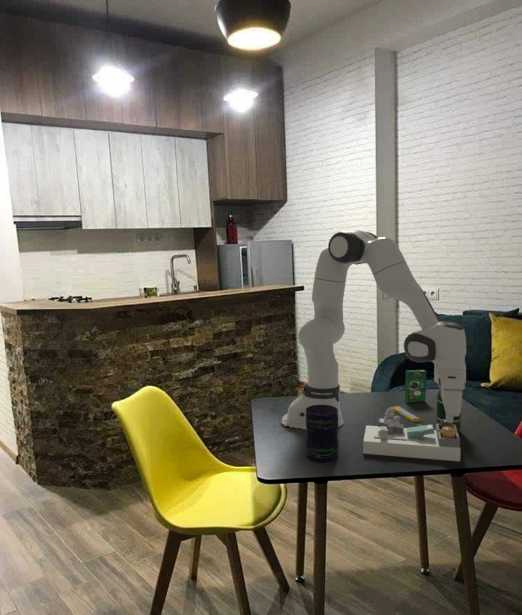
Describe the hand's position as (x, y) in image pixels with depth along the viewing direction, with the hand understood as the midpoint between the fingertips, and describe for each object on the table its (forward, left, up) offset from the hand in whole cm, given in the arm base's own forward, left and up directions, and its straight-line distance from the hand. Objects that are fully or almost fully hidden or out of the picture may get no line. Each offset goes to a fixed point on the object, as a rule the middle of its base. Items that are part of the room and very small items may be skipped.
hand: (449, 421), depth 150 cm
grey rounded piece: (-17, +22, -11) cm, 30 cm away
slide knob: (-19, 0, -6) cm, 20 cm away
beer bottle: (+2, +22, -11) cm, 24 cm away
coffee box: (-8, +54, -11) cm, 55 cm away
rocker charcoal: (-17, +7, -5) cm, 19 cm away
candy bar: (-12, +36, -12) cm, 39 cm away
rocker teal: (-8, +4, -5) cm, 10 cm away
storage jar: (-37, -8, -11) cm, 40 cm away
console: (-11, +4, -11) cm, 16 cm away
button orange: (0, 0, -5) cm, 5 cm away
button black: (0, +7, -5) cm, 8 cm away
